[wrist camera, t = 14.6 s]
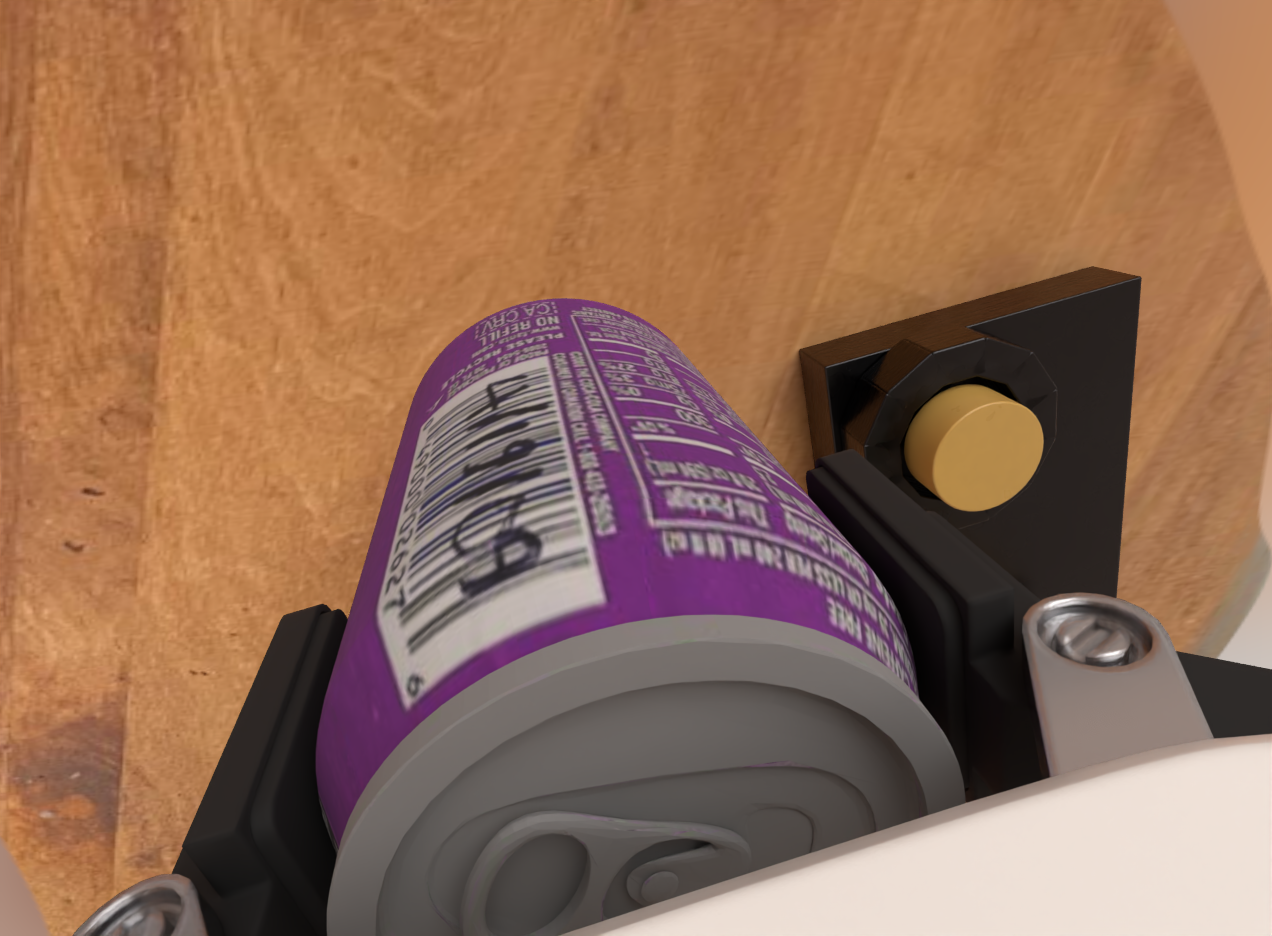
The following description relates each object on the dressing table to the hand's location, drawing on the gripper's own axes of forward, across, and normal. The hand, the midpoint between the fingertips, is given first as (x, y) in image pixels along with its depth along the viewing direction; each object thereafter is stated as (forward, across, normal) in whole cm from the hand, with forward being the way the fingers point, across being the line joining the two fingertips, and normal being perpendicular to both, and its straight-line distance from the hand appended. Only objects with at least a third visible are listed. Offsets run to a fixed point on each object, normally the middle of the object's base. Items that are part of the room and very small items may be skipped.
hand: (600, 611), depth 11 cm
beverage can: (+7, 0, 0) cm, 7 cm away
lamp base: (+14, -14, +9) cm, 22 cm away
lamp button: (+10, -12, +5) cm, 17 cm away
